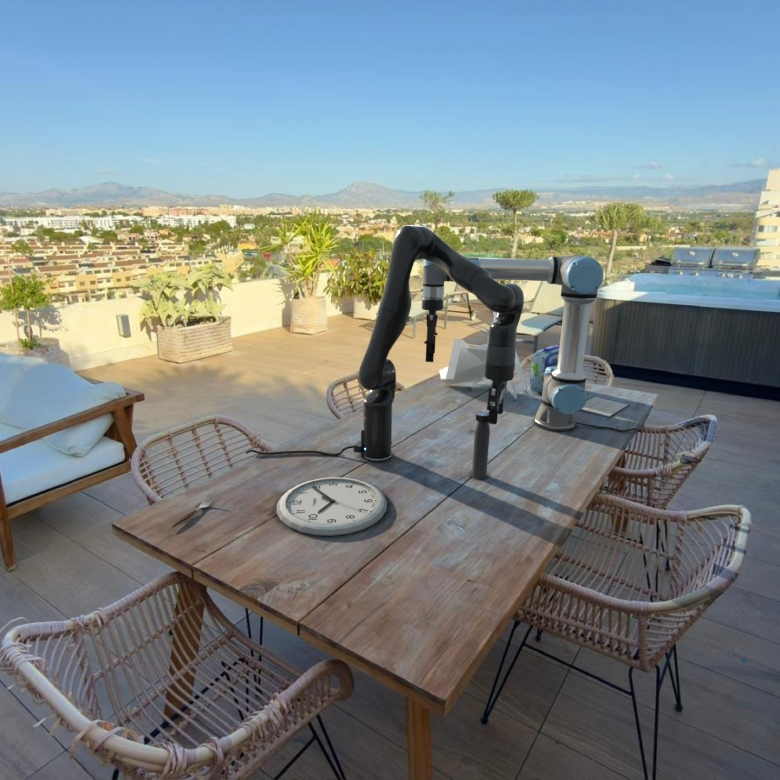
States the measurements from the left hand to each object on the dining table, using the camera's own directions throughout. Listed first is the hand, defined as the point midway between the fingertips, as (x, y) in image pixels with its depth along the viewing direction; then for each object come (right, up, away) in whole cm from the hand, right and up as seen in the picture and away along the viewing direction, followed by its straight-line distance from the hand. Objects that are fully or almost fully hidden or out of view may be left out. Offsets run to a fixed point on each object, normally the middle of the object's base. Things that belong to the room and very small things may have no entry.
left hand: (495, 418), depth 143 cm
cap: (-1, +1, +13) cm, 13 cm away
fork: (-80, -25, -6) cm, 84 cm away
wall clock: (-45, -24, 0) cm, 51 cm away
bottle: (-1, -19, +19) cm, 26 cm away
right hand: (-14, +20, +47) cm, 53 cm away
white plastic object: (+13, +7, +100) cm, 101 cm away
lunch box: (+47, +8, +105) cm, 116 cm away
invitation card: (+63, 0, +83) cm, 104 cm away
